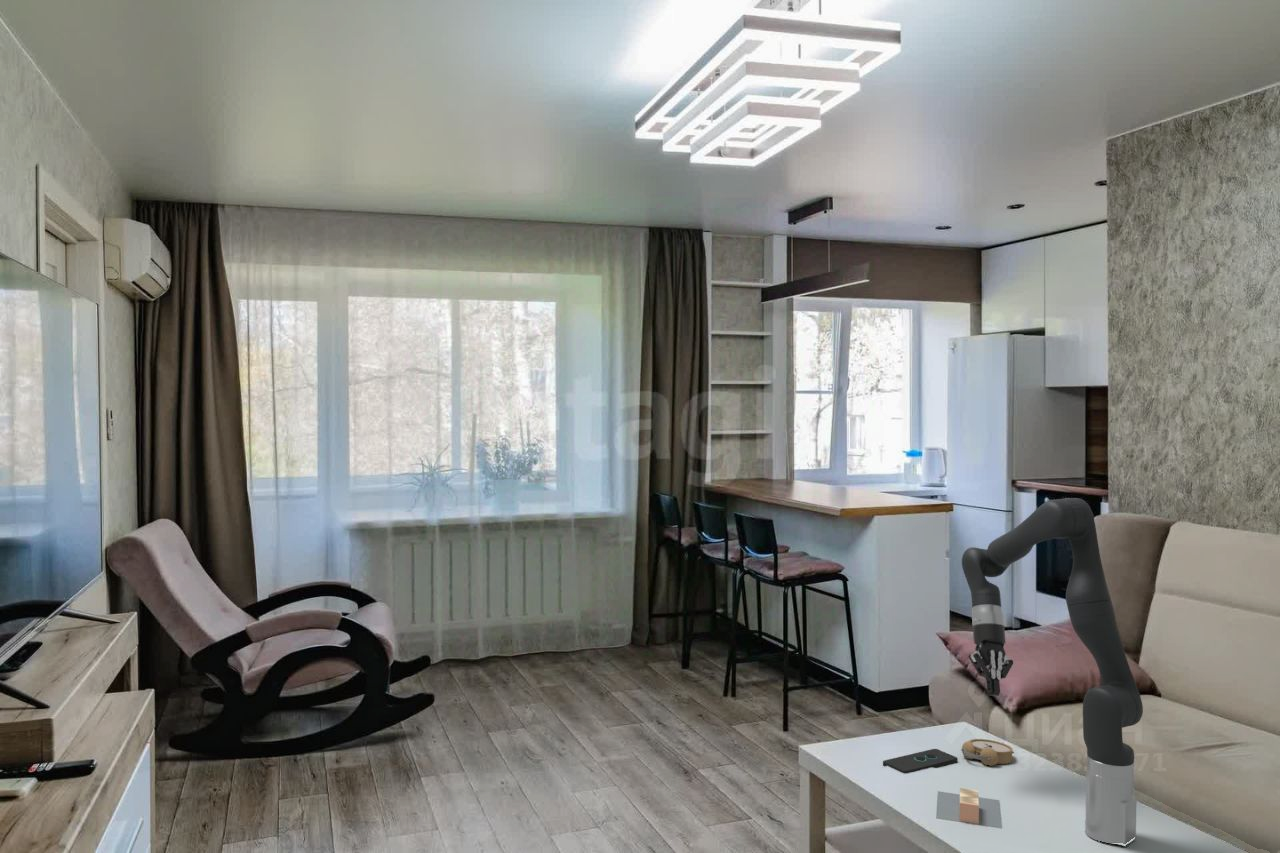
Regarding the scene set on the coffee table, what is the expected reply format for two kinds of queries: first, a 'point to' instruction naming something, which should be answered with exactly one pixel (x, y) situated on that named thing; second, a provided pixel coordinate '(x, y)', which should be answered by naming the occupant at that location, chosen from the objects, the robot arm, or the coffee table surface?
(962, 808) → the birch block
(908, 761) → the smart home device
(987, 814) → the rubber mat
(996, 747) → the alarm clock
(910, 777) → the coffee table surface
